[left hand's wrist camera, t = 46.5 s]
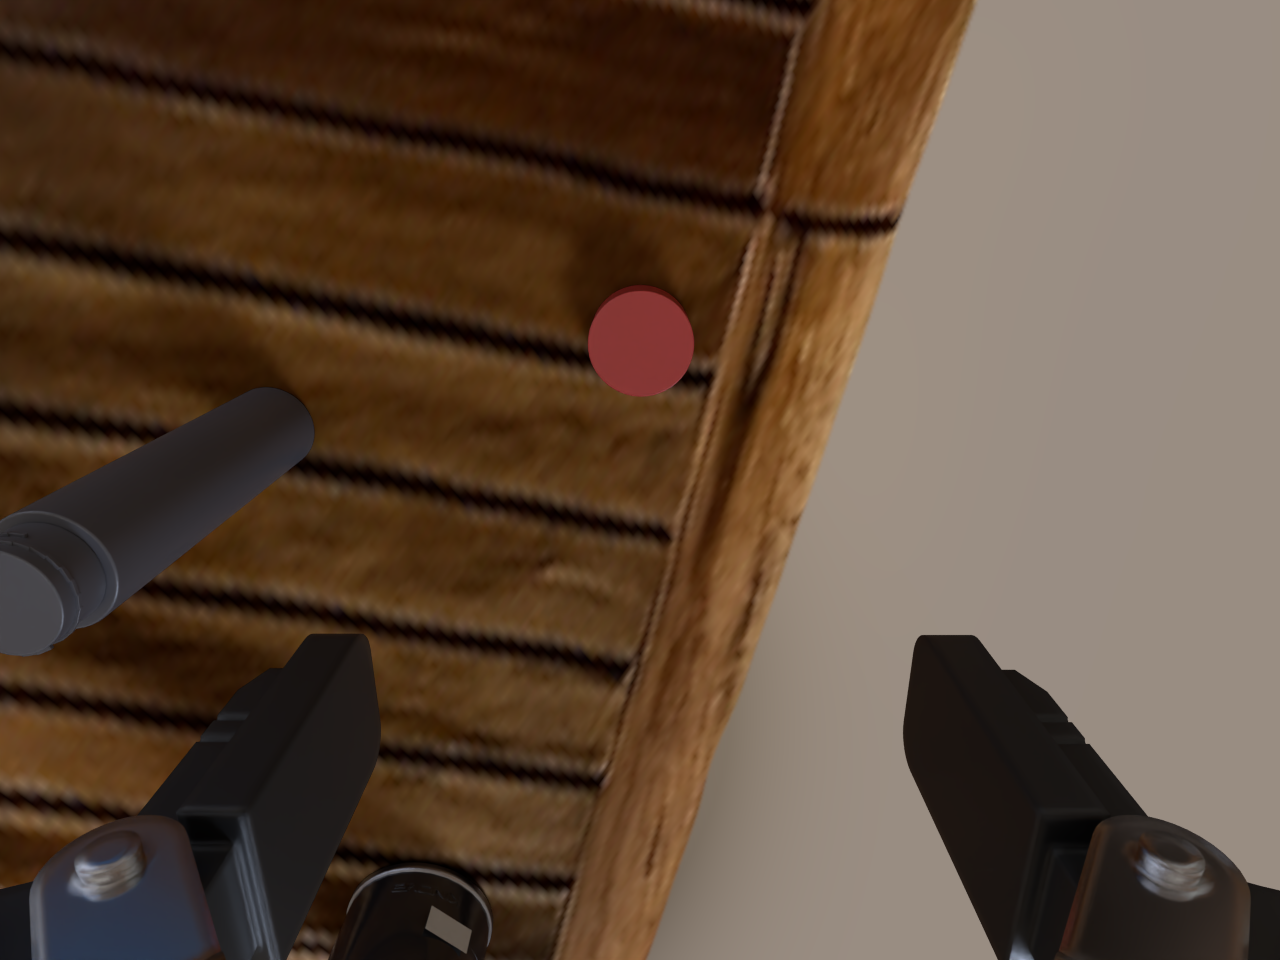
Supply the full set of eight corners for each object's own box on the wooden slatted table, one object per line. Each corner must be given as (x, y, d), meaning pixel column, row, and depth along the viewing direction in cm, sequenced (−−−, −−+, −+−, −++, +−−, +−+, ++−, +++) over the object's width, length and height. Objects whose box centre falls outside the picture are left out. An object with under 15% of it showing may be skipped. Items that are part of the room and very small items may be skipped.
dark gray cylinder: (215, 405, 40) (-106, 569, 23) (287, 374, 40) (14, 517, 22) (260, 477, 42) (-11, 684, 24) (330, 448, 41) (104, 637, 24)
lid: (704, 365, 40) (708, 375, 37) (612, 399, 40) (610, 411, 38) (671, 269, 38) (673, 274, 36) (575, 306, 39) (571, 313, 36)
